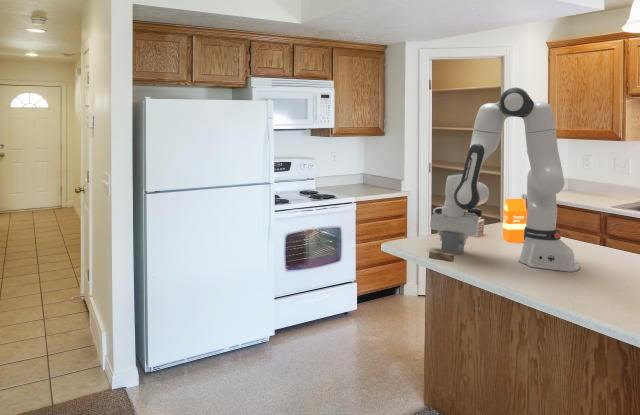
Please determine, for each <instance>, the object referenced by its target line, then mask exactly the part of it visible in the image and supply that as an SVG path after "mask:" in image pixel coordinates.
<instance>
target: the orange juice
mask: <svg viewBox="0 0 640 415" xmlns="http://www.w3.org/2000/svg"><path fill="white" fill-rule="evenodd" d="M503 205H504V206H503V207H502V208H503V209H502V239H503V240H504V241H505V242H507V243H524V229H525V226H526V219H527V206H526V201H525V198H505V201H504V204H503Z"/></svg>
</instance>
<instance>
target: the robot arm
mask: <svg viewBox="0 0 640 415" xmlns="http://www.w3.org/2000/svg"><path fill="white" fill-rule="evenodd" d="M499 97H500V98H499V101H497V102H494V103H493V102H488V103H485V104H482V105H481V106H480V107H479V109H478V111H477V114H476V116H475V120H474V124H473V130H472V134H471V140H470V146H469V148H468V153H467V155H466V160H465V164H464V167H463V171H462V172H456V173H451V174H448V176H447V178H446V181H445V188H444V189H445V190H444V194H445V200H444V203H443V205H440V206H438V207H435V208H433V210H432V213H433V214H432V215H431V218H430V222H429V223H430V224H429V227H430V229H431V230H433V231H437V233H438V236H439V241H441V242H442V232H443V231H447V232H454V233H461V234H464V237H465V238H464V239H462V240H461V244H464V245H466V244H467V239H468V238H469V237H470V236H469V235H475V234H477V232H478V224H477V223H478V216H477V215H476V214H475V213H469V212H468V210H470V209H472V208H476V207H477V206H478V207H479V206H480V205H483V204H485V203H486V202H487V201H489V198H490V197H491V196H490V195H491V191H490V188H489V187H488V186H487V184H486V183H483V182H480V181H479V179H480V175H481V170H482V167H483V164H484V162H485V161H486V159H487V158H489V156H491V155H492V154H493V153H494V152H495V151H497V149H498V146H499V144H500V142H501V136H502V134H503V133H502V132H503V127H504V124H505V121H506V119H508V118H512V117H513V118H514V117H515V118H521V119H522V122H523V124H524V132H525V133H524V134H525V143H526V153H527V157H528V161H529V167H530V170H529V171H528V173H527V176H526V180H527V181H526V196H527V197H526V199H527V206H526V210H527V219H526V226H525V229H524V242H523V244H522V249H521V252H520V255H519V258H518V261H519V262H520V263H522V264H525V265H527V266H528V267H529V268H535V269H536V268H537V269H545V270H554V271H562V272H569V273H570V272H572V273H573V272H577V271H578V270H580V269H581V268H580V267H581V264H580V263H579V262H578V261H575V253H574V251H573V249H572V248H571V247H570V246H568V244H566V243H565V242H564V241H563V240H561V236H562V231H561V230H560V231H559V230H558V229H557V228H556V227H557V218H558V206H557V205H558V204H557V194H559V193H560V192H562V190H563V189H564V186H565V177H564V172H563V167H562V163H561V162H562V161H561V157H560V153H559V148H558V146H559V145H558V138H557V136H558V135H557V129H556V128H557V127H556V120H555V115H554V110H553V109H552V106H551V104H549V103H548V102H545V101H534V100H532V97H530V95H529V93H528V92H527V90H524V89H523V88H521V87H510V88H508V89H506V90H505V91H504V92H503V93H502V94H501V96H499ZM475 215H476V216H475Z"/></svg>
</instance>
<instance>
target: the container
mask: <svg viewBox="0 0 640 415" xmlns="http://www.w3.org/2000/svg"><path fill="white" fill-rule="evenodd" d="M467 212H469V213H475V214H476V215H477V216H478V223H477V224H478V232H477V234H475V235H469V237H474V238H479V237H481V236H483V235H484V231H485V230H484V228H485V219H483V218H482V214H483V213H482V210H481V209H480V208H476V207H474V208H472V209H470V210H467ZM476 215H475V216H476Z"/></svg>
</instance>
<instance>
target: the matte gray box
mask: <svg viewBox="0 0 640 415" xmlns="http://www.w3.org/2000/svg"><path fill="white" fill-rule="evenodd" d="M464 238H465V237H464V234H461V233H454V232H447V231H443V232H442V241H441V249H440V252H443V253H448V254H454V255H459V254H461V253H463V252H465V244H461V240H462V239H464Z"/></svg>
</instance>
